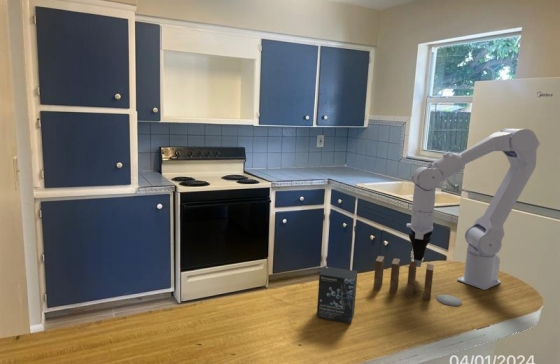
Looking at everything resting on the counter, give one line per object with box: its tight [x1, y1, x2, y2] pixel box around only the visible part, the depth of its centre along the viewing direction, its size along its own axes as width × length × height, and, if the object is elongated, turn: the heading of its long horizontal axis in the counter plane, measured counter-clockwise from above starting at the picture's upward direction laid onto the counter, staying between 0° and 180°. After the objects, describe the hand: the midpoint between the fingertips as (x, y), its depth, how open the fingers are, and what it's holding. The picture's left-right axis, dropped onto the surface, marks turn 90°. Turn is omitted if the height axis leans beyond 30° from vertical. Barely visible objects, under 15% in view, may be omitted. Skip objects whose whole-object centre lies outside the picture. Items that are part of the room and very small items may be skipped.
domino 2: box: [388, 258, 401, 295], centre depth 106 cm, size 2×4×8 cm, turn 157°
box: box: [316, 265, 358, 325], centre depth 91 cm, size 8×6×11 cm
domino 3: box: [406, 260, 418, 298], centre depth 105 cm, size 2×4×8 cm, turn 157°
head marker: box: [435, 294, 463, 307], centre depth 102 cm, size 6×6×1 cm
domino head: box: [414, 260, 423, 268], centre depth 114 cm, size 2×4×8 cm, turn 157°
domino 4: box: [422, 263, 435, 301], centre depth 103 cm, size 2×4×8 cm, turn 157°
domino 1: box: [373, 255, 385, 291], centre depth 108 cm, size 2×4×8 cm, turn 157°
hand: (418, 257), depth 114 cm, fingers closed on domino head, 4 cm apart
